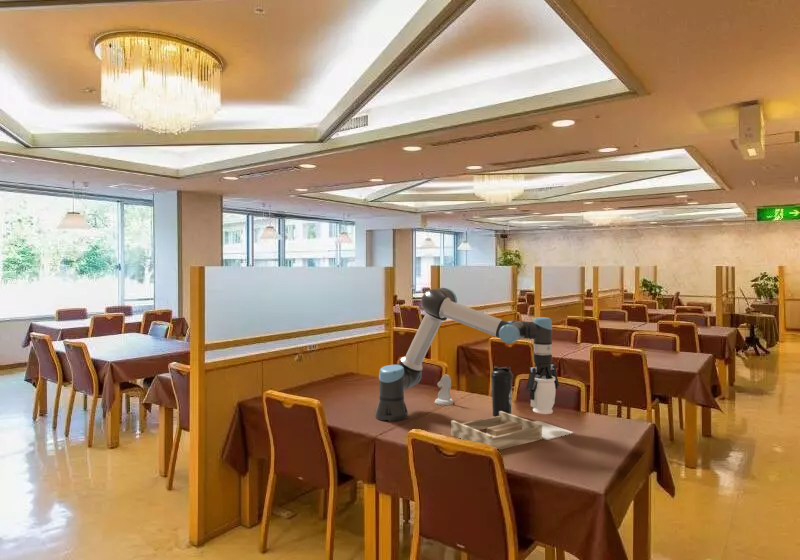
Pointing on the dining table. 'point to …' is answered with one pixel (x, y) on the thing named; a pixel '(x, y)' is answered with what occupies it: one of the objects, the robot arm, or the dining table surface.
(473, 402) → the dining table surface
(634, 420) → the dining table surface
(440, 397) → the chess piece
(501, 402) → the water bottle
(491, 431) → the offcut stack
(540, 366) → the robot arm
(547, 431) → the mat
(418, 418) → the dining table surface
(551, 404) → the jar
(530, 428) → the rack
